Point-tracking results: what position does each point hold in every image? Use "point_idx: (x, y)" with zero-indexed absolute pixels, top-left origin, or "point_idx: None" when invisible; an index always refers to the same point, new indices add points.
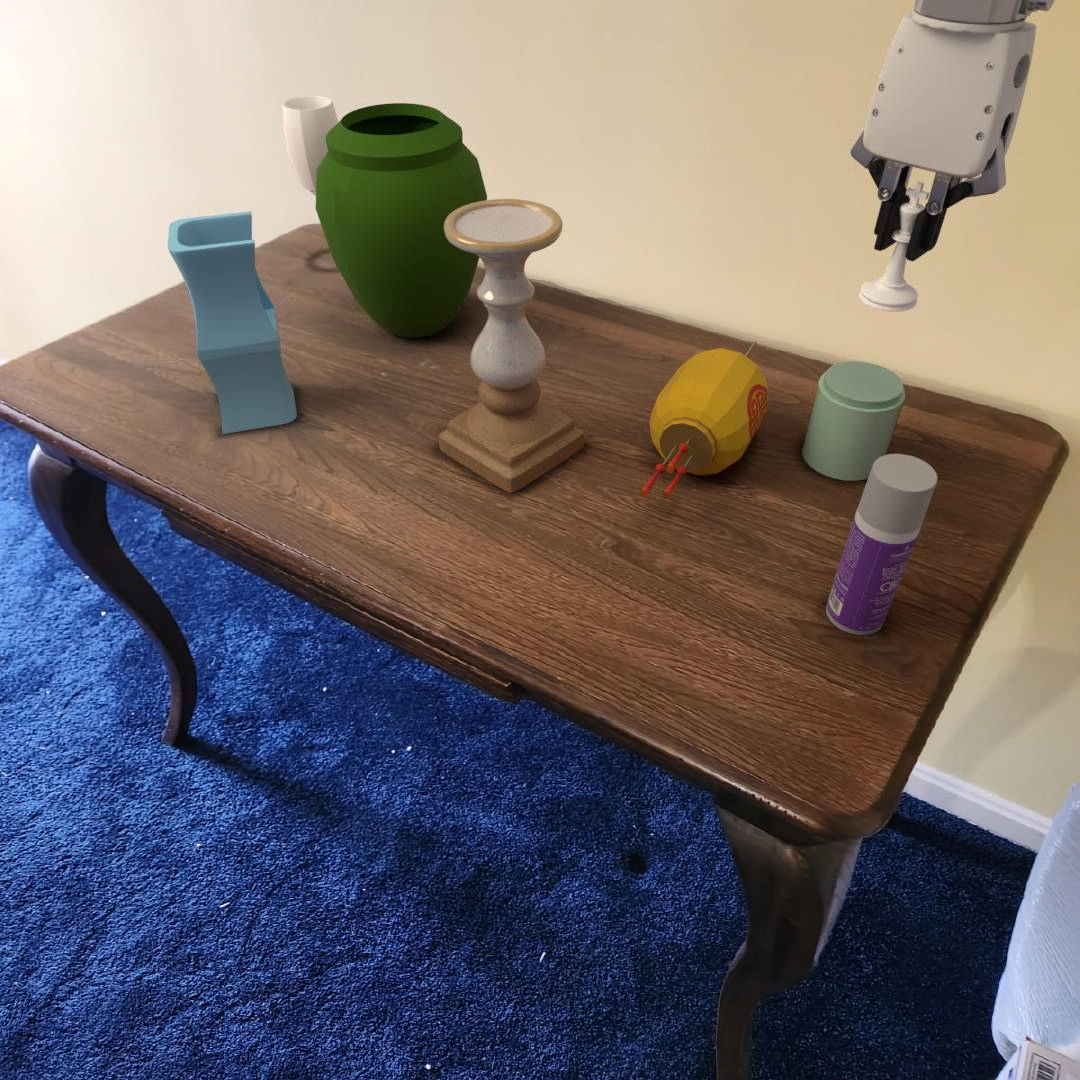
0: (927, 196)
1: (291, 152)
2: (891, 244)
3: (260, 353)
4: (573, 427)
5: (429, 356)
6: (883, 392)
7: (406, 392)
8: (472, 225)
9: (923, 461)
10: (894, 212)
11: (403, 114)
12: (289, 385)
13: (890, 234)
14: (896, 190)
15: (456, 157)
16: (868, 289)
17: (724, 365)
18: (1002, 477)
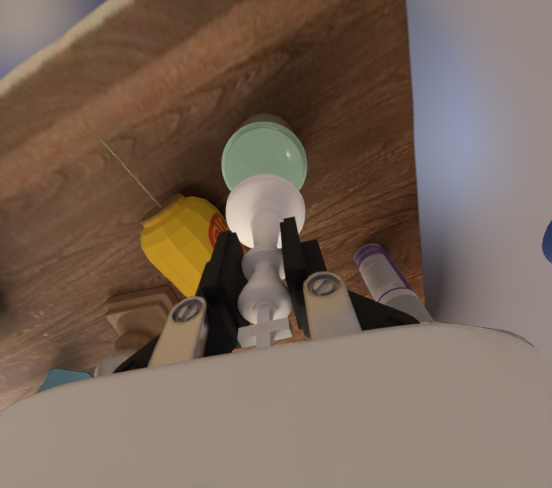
0: (289, 325)
1: None
2: (243, 254)
3: None
4: (161, 301)
5: (24, 310)
6: (291, 172)
7: (72, 332)
8: None
9: (422, 322)
10: (245, 321)
11: None
12: (58, 377)
13: (247, 282)
14: (225, 352)
15: None
16: (251, 244)
17: (187, 267)
18: (373, 38)
